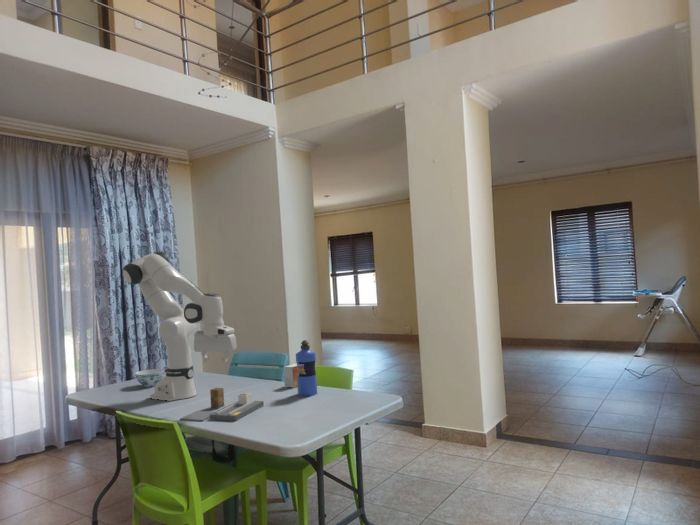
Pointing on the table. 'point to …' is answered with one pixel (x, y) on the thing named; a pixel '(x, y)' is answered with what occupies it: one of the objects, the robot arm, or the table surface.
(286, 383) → the small box
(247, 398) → the switch tab
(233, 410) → the switch panel
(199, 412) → the mat
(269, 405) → the table surface
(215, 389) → the wooden block
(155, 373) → the chinaware
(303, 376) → the water bottle
